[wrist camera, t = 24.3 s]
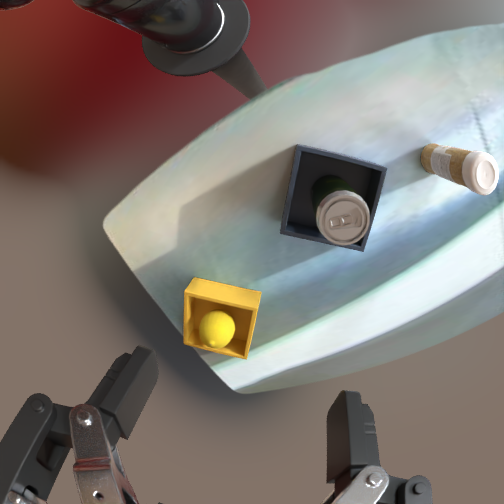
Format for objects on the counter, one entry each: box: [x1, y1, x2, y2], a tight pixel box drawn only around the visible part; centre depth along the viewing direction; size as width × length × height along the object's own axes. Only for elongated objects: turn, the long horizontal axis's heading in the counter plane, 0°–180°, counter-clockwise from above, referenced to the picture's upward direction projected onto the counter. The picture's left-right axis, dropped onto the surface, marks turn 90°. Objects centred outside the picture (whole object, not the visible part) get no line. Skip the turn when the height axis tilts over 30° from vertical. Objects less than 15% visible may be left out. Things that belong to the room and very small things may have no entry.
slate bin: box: [280, 144, 387, 252], centre depth 34 cm, size 11×11×5 cm
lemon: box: [199, 309, 235, 349], centre depth 42 cm, size 6×6×8 cm
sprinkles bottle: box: [421, 144, 498, 195], centre depth 25 cm, size 5×5×13 cm
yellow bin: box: [184, 277, 261, 359], centre depth 45 cm, size 11×11×5 cm
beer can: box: [311, 175, 370, 245], centre depth 30 cm, size 5×5×12 cm
